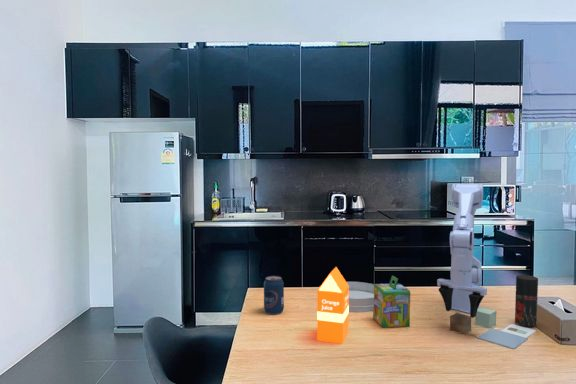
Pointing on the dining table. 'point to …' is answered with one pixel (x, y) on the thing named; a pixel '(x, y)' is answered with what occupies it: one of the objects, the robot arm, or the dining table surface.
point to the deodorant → (526, 301)
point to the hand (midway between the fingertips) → (460, 313)
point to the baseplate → (502, 338)
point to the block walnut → (460, 323)
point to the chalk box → (391, 304)
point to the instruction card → (519, 330)
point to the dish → (361, 297)
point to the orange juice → (333, 309)
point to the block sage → (485, 317)
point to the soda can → (273, 295)
